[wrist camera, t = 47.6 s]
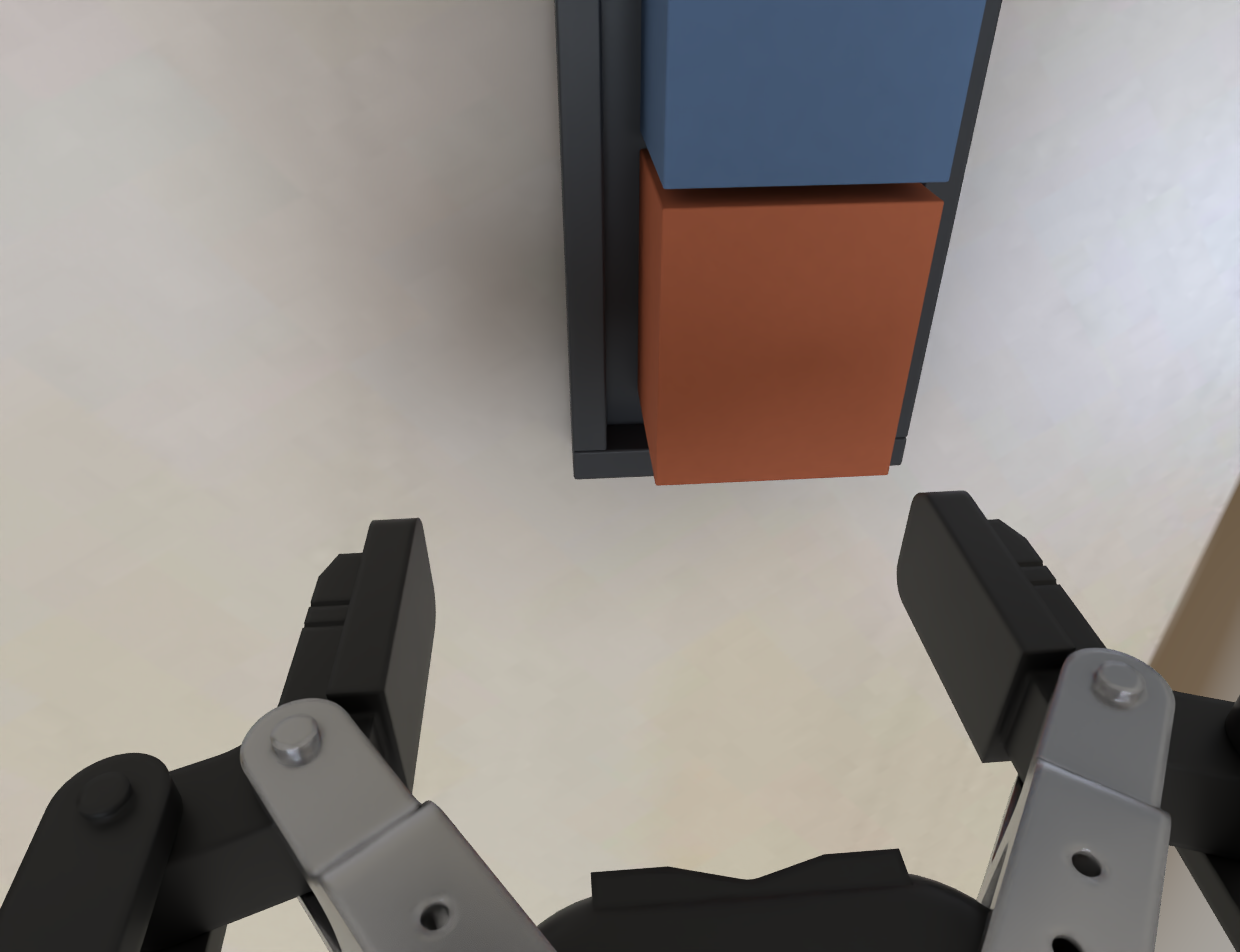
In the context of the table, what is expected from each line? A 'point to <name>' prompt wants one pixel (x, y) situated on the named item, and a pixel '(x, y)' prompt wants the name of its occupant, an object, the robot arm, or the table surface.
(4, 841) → the table surface
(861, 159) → the matte blue cube
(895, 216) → the matte reddish brown block
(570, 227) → the frame
